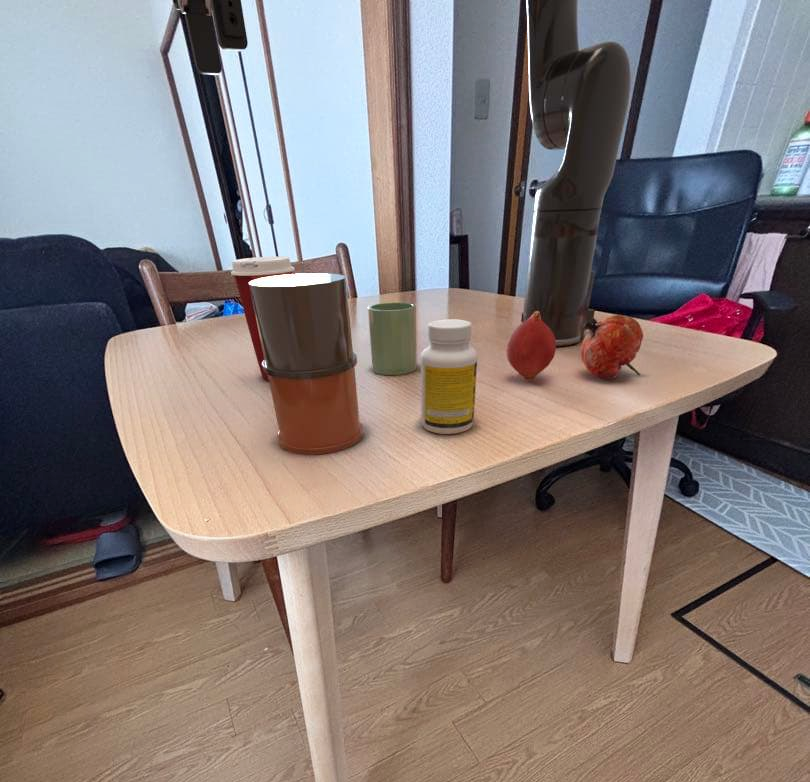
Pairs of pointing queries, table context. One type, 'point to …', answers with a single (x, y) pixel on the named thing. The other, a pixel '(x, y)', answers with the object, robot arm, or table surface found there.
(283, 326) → the cup stack
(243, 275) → the paper cup
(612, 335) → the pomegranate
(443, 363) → the supplement bottle
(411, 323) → the green cup
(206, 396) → the table surface
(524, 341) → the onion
